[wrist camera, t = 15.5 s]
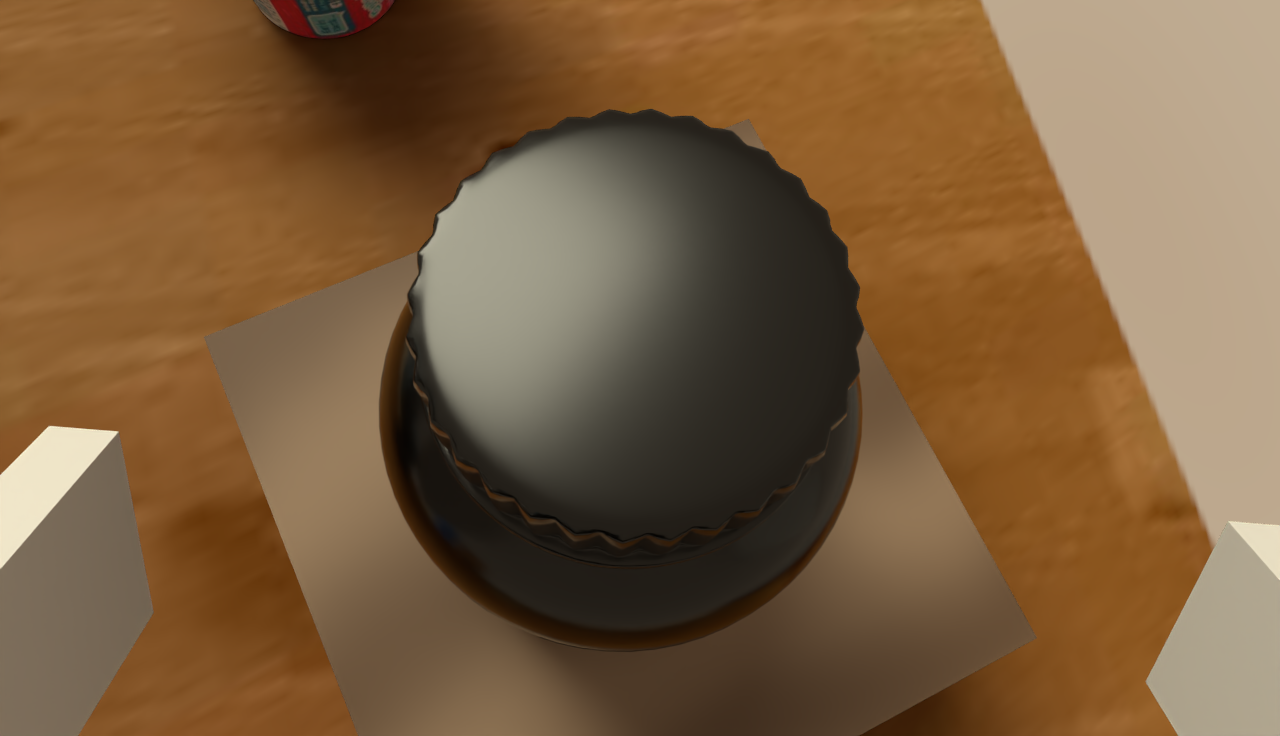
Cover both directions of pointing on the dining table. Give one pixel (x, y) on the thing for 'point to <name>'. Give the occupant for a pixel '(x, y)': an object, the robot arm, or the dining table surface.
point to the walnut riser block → (581, 678)
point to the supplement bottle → (625, 382)
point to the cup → (324, 15)
